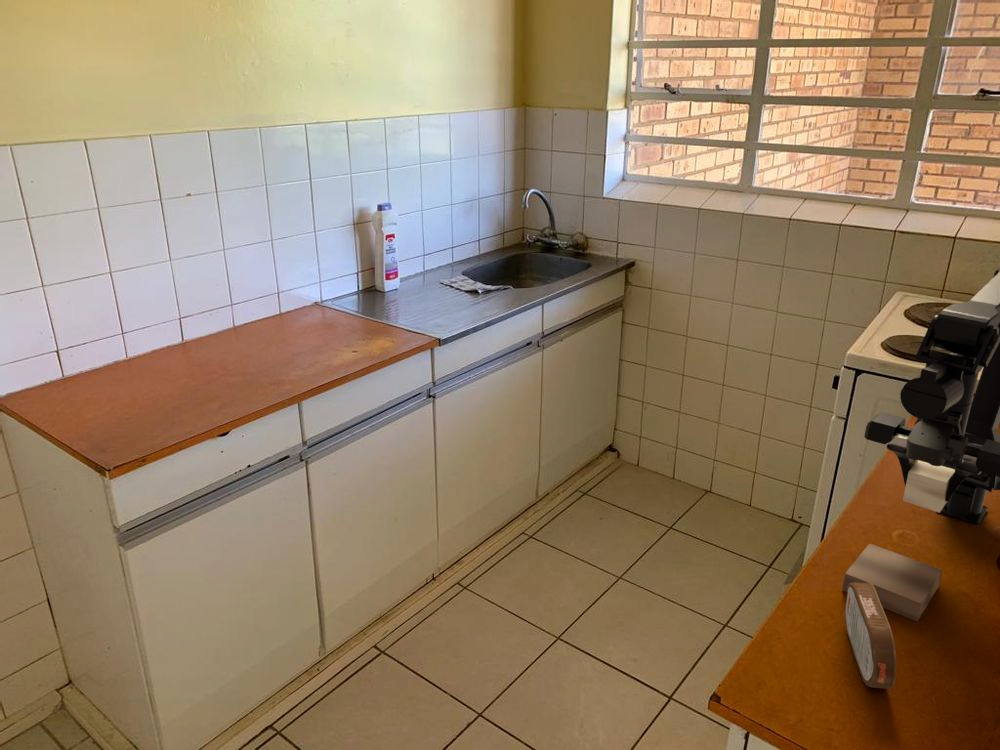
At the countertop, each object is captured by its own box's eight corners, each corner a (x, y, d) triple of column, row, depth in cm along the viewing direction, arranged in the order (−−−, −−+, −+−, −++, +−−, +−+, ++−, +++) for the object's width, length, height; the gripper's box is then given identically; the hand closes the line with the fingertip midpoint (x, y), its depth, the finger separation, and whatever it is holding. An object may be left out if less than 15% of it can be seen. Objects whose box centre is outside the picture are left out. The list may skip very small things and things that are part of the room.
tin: (892, 705, 89) (905, 648, 86) (863, 701, 89) (875, 645, 86) (862, 621, 103) (872, 570, 99) (837, 618, 103) (846, 567, 100)
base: (866, 559, 115) (869, 543, 114) (938, 587, 109) (942, 569, 108) (842, 590, 109) (845, 573, 107) (917, 621, 102) (921, 603, 101)
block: (912, 488, 116) (919, 459, 114) (949, 499, 113) (955, 469, 111) (902, 500, 112) (908, 471, 111) (939, 512, 109) (946, 482, 107)
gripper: (859, 397, 107) (843, 493, 113) (1012, 436, 95) (985, 540, 101) (886, 376, 114) (869, 466, 120) (1030, 409, 102) (1004, 507, 108)
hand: (927, 493), depth 112 cm, fingers closed on block, 5 cm apart
